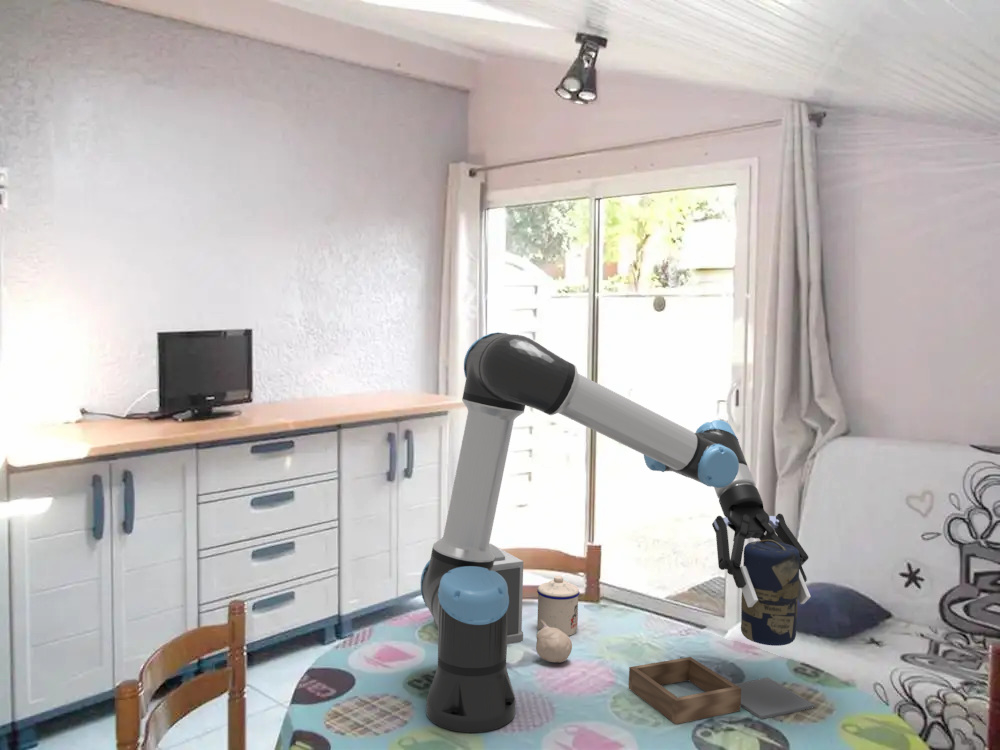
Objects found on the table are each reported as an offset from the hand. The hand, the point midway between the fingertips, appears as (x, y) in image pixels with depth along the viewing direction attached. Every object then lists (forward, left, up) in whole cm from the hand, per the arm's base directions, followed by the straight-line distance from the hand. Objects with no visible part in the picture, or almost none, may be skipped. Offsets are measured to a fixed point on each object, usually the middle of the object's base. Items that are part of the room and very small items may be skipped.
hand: (779, 602), depth 147 cm
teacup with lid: (-19, +47, -19) cm, 54 cm away
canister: (+1, +3, -8) cm, 9 cm away
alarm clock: (-36, +51, -19) cm, 65 cm away
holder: (-14, +8, -19) cm, 24 cm away
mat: (0, +3, -19) cm, 19 cm away
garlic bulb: (-28, +31, -19) cm, 46 cm away
